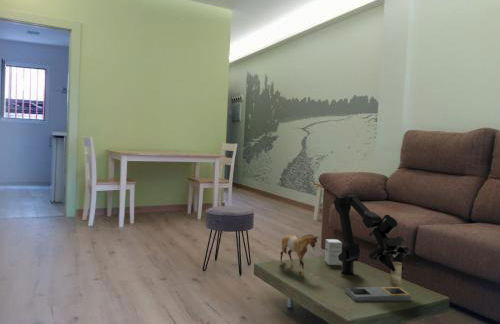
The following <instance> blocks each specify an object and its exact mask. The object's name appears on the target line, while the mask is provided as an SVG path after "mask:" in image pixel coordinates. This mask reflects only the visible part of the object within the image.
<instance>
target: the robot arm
mask: <svg viewBox="0 0 500 324" xmlns="http://www.w3.org/2000/svg"><path fill="white" fill-rule="evenodd" d="M333 206H334V209H335V211H336V213H337V214H338V215H339V220H340V225H341V232H342V238H343V243H342V251H341V253H340V255H339V256H338V258H339V260H340V261H341V269H340V274H343V275H351V276H353V275H355V270H354V266H355V264H354V263H355V262H358V261H359V257H360V255H361V249H360V245H359V243H356V241H355V239H354V234H353V228H352V222H351V216H350V211H351V209H352V208H353V209H354V210H355V211H356V212H357V214H358V215H359V216H360V217H361V220H362V223H363V225H364V226H365V227H366V228H367V229H372V230H370V232H369V234H368V235H369V237H373V238H374V239H375V241H376V244H375V246H376V247H377V248H374V249H373V250H372V251H371V252H369V258H370V260H371V261H376V260H377V261H378V262H380V263H381V264H383V265H384V266H386V267H387V268H388V269H390V271H391V270H392V271H395V268H394V266H393V264H392V262H393V261H395V262H400V263H402V271H404V270H405V269H404V262H403V258H404V257H406V255H408V254H409V253H410V252H411V250H410V248H409V247H408V246H403V244H404V243H405V241H404V240H405V239H404V237H403V236H402V235H398V236H396V237H389V235H390V234H391V232H393V230H395V228H397V227H398V221H397V220H396V219H395V218H394V217H392V216H390V214H385V215H384V216H383V218H382V217H381V216H380V215H378V214H377V213H376V212H373V211H371V210H370V209H369V208H367V206H366V205H365V204H364V203H363V202H362V201H361V200H360V199H359V197H358V196H357V195H347V196H338V197H335V199H334V200H333ZM398 246H399V247H398ZM391 256H392V257H393V258H392V260H391Z"/></svg>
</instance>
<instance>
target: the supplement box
mask: <svg viewBox="0 0 500 324" xmlns="http://www.w3.org/2000/svg"><path fill="white" fill-rule="evenodd" d="M324 246H325V247H324V248H325V249H324V262H325V263H326V264H327V265H328V266H342V261H340V260H339V258H338V256H339V255H340V253H341V252H342V246H343V243H342V241H340V240H339V239H335V238H330V239H329V238H328V239H327V238H326V239H325V243H324Z"/></svg>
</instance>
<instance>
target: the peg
mask: <svg viewBox="0 0 500 324" xmlns="http://www.w3.org/2000/svg"><path fill="white" fill-rule="evenodd" d="M391 262H392V264H393V266H394V268H395V271H392V270H391V269H390V280H389V281H390V282H389V287H400V288H402V271H403V270H402V263H400V262H395V261H394V260H392V261H391Z"/></svg>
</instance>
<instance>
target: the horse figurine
mask: <svg viewBox="0 0 500 324" xmlns="http://www.w3.org/2000/svg"><path fill="white" fill-rule="evenodd" d="M318 238H319V236H314V235H313V234H306V235H305V234H304V235H303V236H301V237H299V238H297V235H294V234H287V235H285V236H283V238H282V240H281V251H280V259H279V261H280V262H279V264H280V266H283V265H284V262H283V256H284V254H287V255H288V256H289V260H290V266H291V267H294V260H293V258H292V254H291V253H292V252H294V253H296V255H297V257H298V259H299V265H298V268H299V272H300V273H301V276H302V277H305V268H304V267H305V265H304V264H305V263H304V261H303V258H304V257H305V255H306V253H307V252H308V246H309V245H310V246H311V248H312V250H313V251H317V249H318V248H317V242H318V240H317V239H318ZM287 248H288V249H289V250H287Z"/></svg>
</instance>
